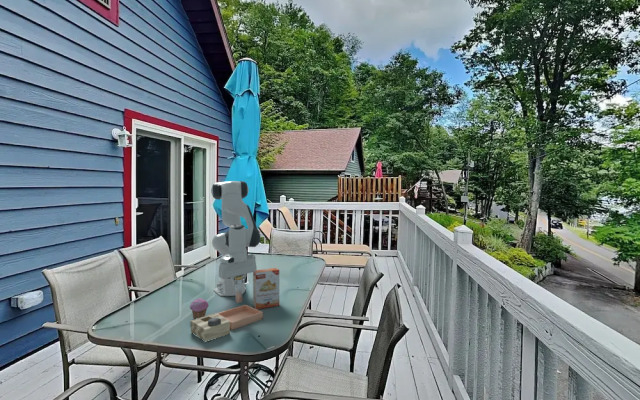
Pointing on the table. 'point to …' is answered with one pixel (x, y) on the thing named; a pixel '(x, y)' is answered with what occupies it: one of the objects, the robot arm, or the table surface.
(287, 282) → the table surface
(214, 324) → the block
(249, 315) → the tray
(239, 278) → the pin
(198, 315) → the cupcake
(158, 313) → the table surface
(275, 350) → the table surface
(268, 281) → the cracker box
